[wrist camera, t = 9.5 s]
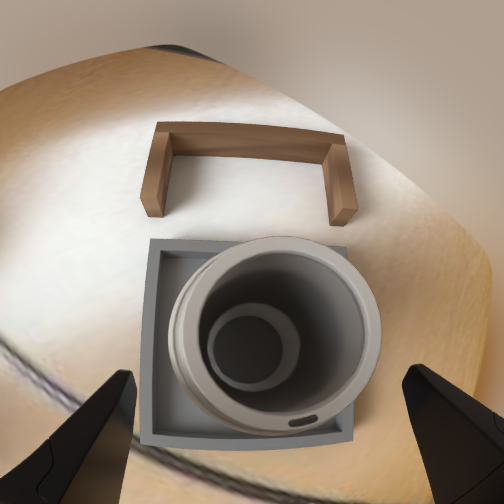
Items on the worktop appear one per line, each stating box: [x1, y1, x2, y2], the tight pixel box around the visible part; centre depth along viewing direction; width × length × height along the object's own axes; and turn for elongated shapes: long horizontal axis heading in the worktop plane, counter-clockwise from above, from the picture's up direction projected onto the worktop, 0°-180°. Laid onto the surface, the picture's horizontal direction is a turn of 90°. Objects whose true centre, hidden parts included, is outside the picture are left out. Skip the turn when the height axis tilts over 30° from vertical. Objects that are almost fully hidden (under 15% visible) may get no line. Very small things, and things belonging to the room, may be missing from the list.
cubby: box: [140, 122, 358, 226], centre depth 23 cm, size 7×15×3 cm, turn 89°
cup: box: [168, 236, 382, 436], centre depth 14 cm, size 7×7×12 cm
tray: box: [140, 239, 354, 451], centre depth 19 cm, size 14×14×2 cm
